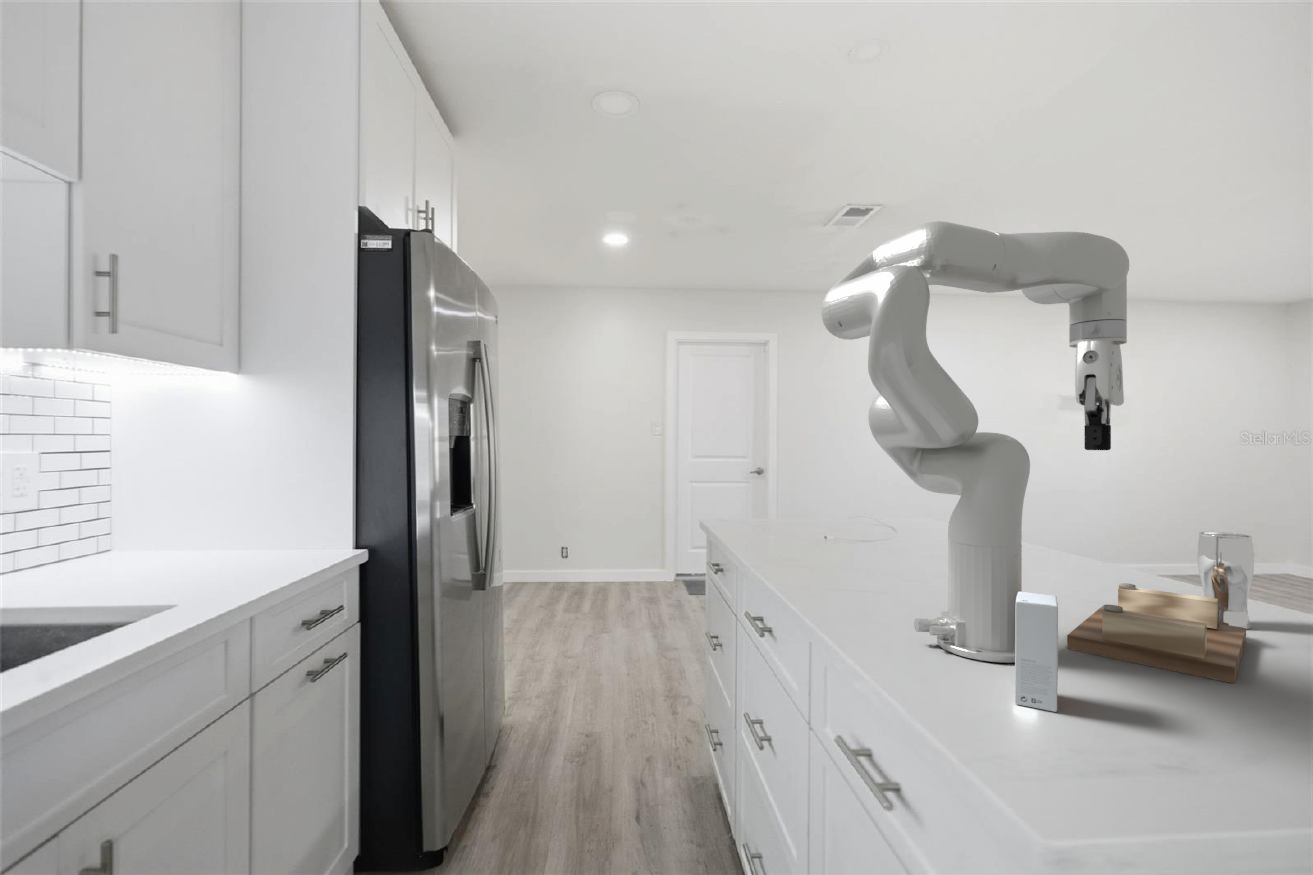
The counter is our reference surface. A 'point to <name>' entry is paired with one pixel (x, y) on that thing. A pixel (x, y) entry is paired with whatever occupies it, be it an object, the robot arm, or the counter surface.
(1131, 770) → the counter surface
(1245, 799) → the counter surface
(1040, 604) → the skincare box
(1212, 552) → the beer glass
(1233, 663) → the stool frame
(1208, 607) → the hinged leg
